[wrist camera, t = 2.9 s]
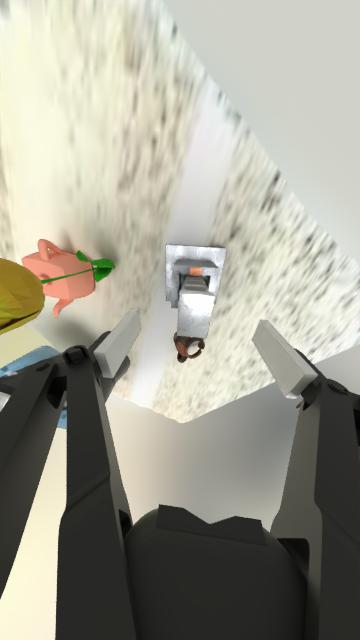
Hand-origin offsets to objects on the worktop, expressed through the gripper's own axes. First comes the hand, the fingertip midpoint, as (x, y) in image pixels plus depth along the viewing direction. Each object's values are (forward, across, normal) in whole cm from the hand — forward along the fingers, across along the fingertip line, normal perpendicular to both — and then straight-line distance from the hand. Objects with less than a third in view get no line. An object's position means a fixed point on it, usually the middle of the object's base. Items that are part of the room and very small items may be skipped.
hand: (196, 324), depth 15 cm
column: (+22, 0, 0) cm, 22 cm away
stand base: (+24, 0, 0) cm, 24 cm away
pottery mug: (+24, 0, -23) cm, 33 cm away
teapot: (+24, -33, -2) cm, 41 cm away
